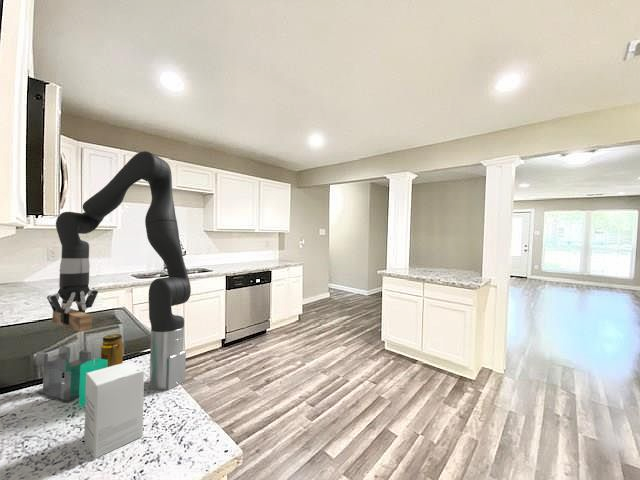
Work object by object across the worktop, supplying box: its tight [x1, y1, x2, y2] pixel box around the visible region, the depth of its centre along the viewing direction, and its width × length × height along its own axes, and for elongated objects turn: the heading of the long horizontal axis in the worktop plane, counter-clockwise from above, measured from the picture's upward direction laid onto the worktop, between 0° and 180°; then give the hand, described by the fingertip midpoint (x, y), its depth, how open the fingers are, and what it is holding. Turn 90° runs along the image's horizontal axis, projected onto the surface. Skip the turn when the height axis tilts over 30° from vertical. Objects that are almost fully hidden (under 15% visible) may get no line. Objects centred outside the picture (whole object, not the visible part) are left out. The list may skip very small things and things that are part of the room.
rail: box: [51, 307, 94, 332], centre depth 93 cm, size 15×4×4 cm, turn 69°
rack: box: [35, 345, 92, 404], centre depth 81 cm, size 14×6×12 cm, turn 69°
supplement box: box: [83, 360, 145, 459], centre depth 62 cm, size 9×9×15 cm
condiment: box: [100, 333, 124, 367], centre depth 96 cm, size 7×8×12 cm
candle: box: [78, 356, 108, 408], centre depth 77 cm, size 6×6×12 cm
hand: (73, 322), depth 93 cm, fingers closed on rail, 3 cm apart
